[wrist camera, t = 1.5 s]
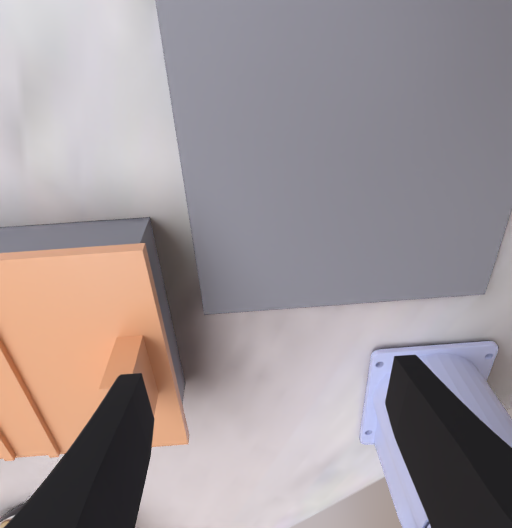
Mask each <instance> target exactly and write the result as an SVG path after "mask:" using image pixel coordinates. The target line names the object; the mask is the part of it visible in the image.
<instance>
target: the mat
mask: <svg viewBox="0 0 512 528" xmlns="http://www.w3.org/2000/svg"><path fill="white" fill-rule="evenodd" d="M155 1H156V8H157V14H158V21H159V27H160V33H161V40H162V46H163V53H164V59H165V66H166V72H167V78H168V85H169V91H170V98H171V104H172V110H173V117H174V123H175V130H176V136H177V143H178V149H179V155H180V162H181V168H182V175H183V181H184V187H185V194H186V200H187V207H188V213H189V220H190V226H191V232H192V239H193V245H194V252H195V258H196V264H197V271H198V277H199V284H200V290H201V297H202V303H203V309H204V315H208V314H221V313H235V312H249V311H262V310H276V309H290V308H304V307H317V306H331V305H345V304H358V303H372V302H386V301H399V300H413V299H427V298H441V297H454V296H468V295H482V294H485V292H486V289H487V286H488V283H489V280H490V276H491V273H492V270H493V267H494V264H495V261H496V258H497V254H498V251H499V248H500V245H501V242H502V239H503V236H504V232H505V229H506V226H507V223H508V220H509V217H510V214H511V211H512V0H155Z"/></svg>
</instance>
